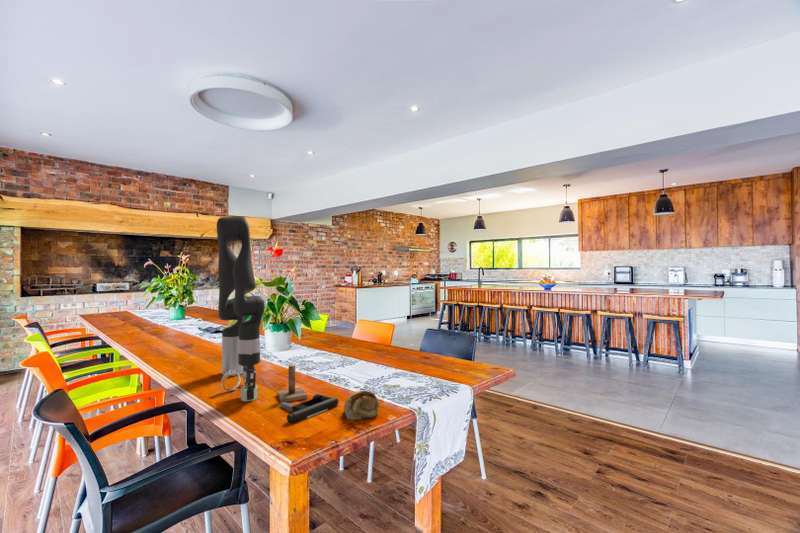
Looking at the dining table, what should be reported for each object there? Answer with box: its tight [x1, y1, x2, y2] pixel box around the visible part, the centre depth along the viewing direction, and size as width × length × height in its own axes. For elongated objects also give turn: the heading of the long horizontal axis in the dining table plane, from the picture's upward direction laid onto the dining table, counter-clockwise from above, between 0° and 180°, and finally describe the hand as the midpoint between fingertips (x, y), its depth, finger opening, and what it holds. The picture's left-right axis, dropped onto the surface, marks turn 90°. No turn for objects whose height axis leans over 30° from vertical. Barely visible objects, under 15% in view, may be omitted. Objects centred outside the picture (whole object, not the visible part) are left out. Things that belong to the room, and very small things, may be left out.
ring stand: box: [276, 364, 308, 403], centre depth 136 cm, size 9×9×12 cm
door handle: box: [279, 394, 339, 424], centre depth 125 cm, size 3×20×16 cm
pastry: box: [343, 390, 380, 421], centre depth 123 cm, size 14×12×8 cm
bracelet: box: [221, 370, 242, 392], centre depth 142 cm, size 7×3×8 cm, turn 132°
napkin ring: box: [240, 384, 259, 402], centre depth 134 cm, size 6×6×4 cm
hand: (249, 396), depth 134 cm, fingers closed on napkin ring, 5 cm apart
